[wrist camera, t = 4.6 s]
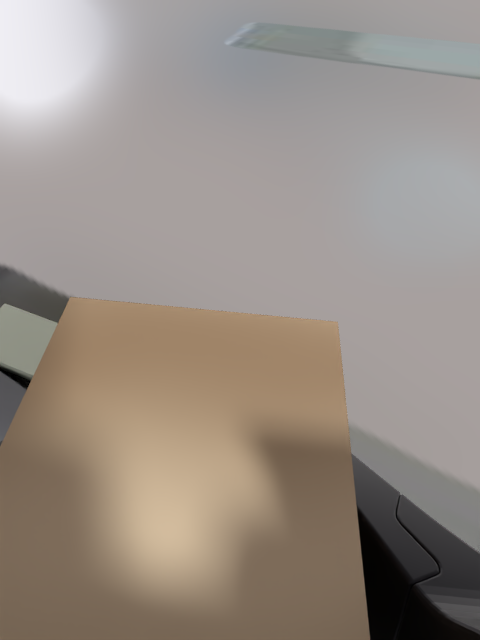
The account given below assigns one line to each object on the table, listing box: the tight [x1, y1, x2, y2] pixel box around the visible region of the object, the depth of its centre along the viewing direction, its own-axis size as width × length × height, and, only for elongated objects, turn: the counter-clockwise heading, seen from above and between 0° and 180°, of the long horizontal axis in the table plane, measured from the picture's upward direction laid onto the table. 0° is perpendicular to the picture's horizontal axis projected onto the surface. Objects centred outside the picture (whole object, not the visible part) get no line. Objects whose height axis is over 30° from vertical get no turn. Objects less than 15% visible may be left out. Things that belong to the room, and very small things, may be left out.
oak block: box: [0, 297, 370, 640], centre depth 9 cm, size 5×5×11 cm
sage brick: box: [0, 304, 58, 381], centre depth 17 cm, size 6×3×3 cm, turn 70°
